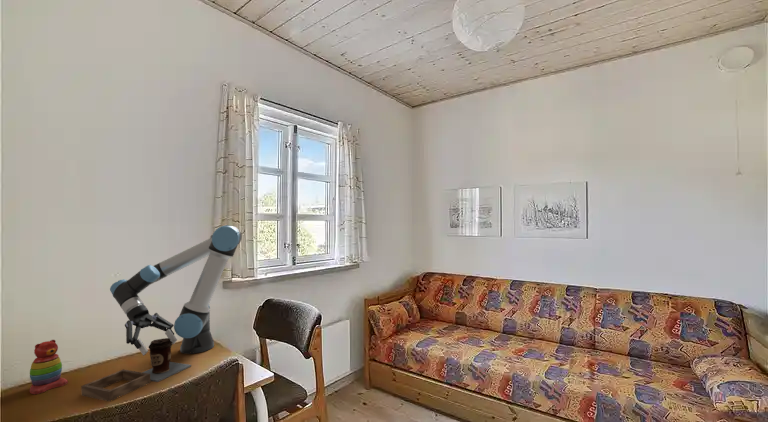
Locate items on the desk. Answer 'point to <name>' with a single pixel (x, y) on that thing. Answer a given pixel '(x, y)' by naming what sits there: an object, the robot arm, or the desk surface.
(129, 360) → the desk surface
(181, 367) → the mat
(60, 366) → the stacking bear
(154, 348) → the coffee cup
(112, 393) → the square frame
